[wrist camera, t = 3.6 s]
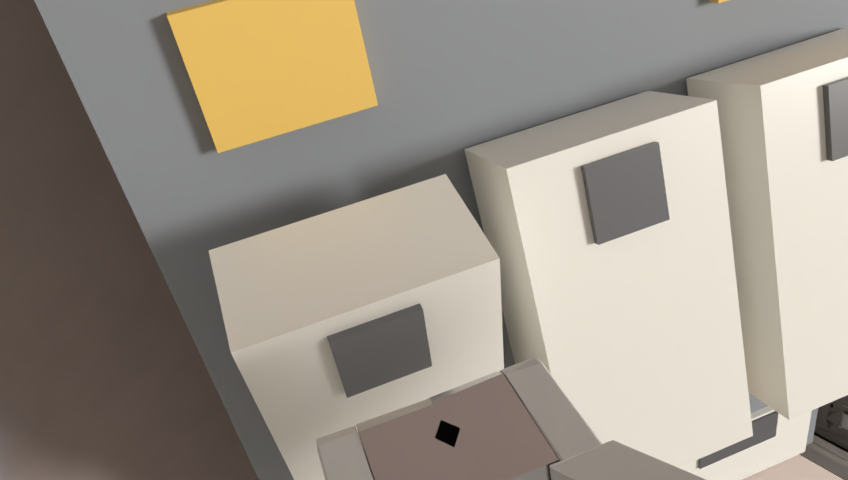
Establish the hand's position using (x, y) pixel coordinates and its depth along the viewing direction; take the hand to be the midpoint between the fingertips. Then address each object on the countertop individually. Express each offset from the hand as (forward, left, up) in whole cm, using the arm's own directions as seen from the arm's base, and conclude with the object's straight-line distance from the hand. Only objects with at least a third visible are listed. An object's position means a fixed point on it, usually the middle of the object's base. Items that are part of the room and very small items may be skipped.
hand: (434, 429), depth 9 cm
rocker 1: (-3, 0, -6) cm, 7 cm away
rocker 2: (-4, -5, -6) cm, 9 cm away
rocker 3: (-4, -11, -6) cm, 13 cm away
